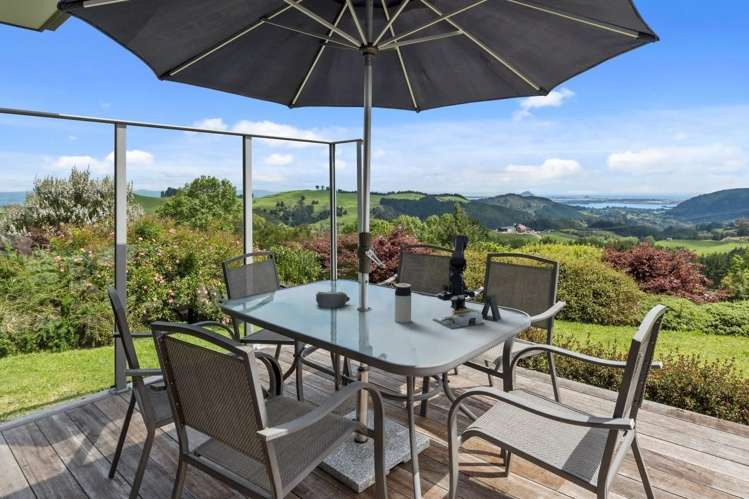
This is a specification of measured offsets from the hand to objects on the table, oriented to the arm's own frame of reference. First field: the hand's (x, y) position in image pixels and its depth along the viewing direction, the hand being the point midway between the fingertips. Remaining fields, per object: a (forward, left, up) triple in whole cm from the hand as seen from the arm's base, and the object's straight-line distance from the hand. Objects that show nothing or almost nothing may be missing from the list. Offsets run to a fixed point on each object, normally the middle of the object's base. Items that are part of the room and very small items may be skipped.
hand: (456, 312), depth 217 cm
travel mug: (+26, -7, -4) cm, 27 cm away
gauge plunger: (+3, +8, -2) cm, 8 cm away
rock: (+48, -51, -4) cm, 70 cm away
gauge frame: (+3, +6, -3) cm, 7 cm away
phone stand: (-16, +7, -4) cm, 18 cm away
